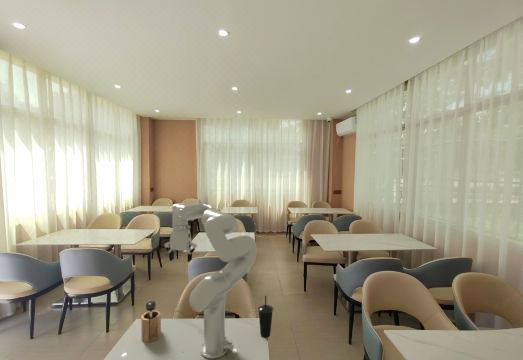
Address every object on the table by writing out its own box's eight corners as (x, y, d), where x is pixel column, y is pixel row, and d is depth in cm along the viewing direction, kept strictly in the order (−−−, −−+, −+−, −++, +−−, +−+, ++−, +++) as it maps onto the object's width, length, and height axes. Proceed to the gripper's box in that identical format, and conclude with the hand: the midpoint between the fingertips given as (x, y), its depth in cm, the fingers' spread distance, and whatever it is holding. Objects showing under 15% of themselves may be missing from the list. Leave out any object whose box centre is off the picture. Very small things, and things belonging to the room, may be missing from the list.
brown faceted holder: (165, 329, 135) (165, 309, 134) (154, 343, 125) (154, 320, 124) (150, 328, 136) (150, 307, 136) (138, 341, 126) (137, 319, 125)
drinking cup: (271, 340, 127) (271, 300, 126) (256, 338, 128) (256, 298, 127) (274, 331, 134) (274, 293, 133) (259, 329, 136) (259, 291, 135)
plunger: (158, 331, 131) (158, 301, 131) (153, 337, 126) (152, 306, 126) (149, 330, 132) (149, 300, 132) (143, 336, 127) (143, 305, 127)
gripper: (199, 226, 136) (199, 258, 136) (168, 225, 138) (168, 257, 139) (193, 229, 128) (193, 264, 129) (160, 228, 131) (161, 262, 132)
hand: (180, 260), depth 134 cm, fingers open, 9 cm apart
